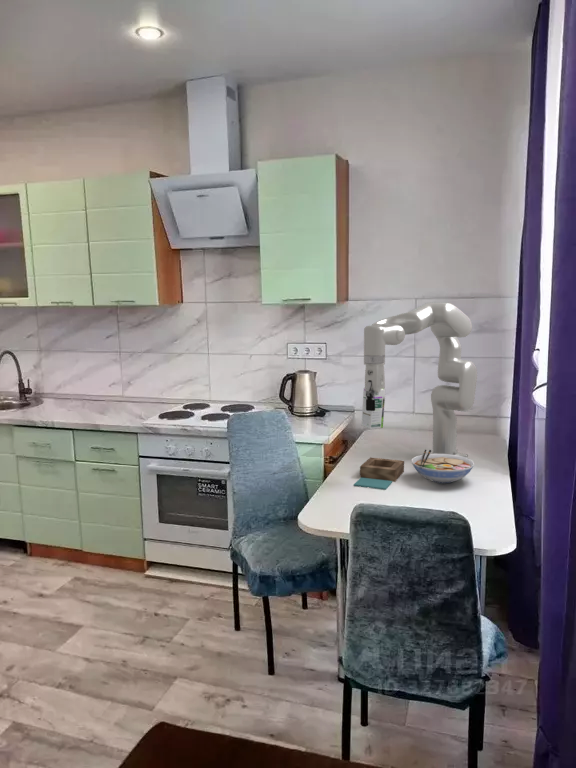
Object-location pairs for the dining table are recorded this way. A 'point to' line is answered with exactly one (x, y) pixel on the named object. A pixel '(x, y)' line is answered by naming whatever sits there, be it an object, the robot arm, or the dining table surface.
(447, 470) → the ramen bowl
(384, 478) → the walnut collar
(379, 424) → the syrup box
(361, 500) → the dining table surface
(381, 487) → the teal mat
